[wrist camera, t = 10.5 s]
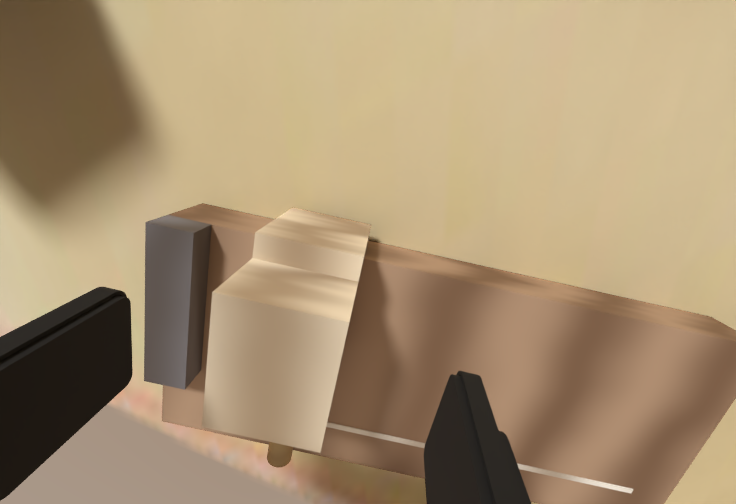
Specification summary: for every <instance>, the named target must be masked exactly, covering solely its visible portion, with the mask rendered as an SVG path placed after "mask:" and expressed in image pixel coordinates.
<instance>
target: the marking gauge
mask: <svg viewBox="0 0 736 504" xmlns="http://www.w3.org/2000/svg"><path fill="white" fill-rule="evenodd" d="M370 228H371V225H370V224H366V223H361V222H357V221H352V220H348V219H343V218H339V217H334V216H330V215H326V214H321V213H317V212H312V211H308V210H303V209H299V208H294V207H292V208H291V209H289V210H288V211H286V212H285V213H283V214H282V215H280V216H279V217H277V218H276V219H274V220H273V221H271V222H270V223H268V224H267V225H265V226H264V227H263V228H261V229H260V230H258V231H257V232H255V239H254V248H253V256H252V259H251V260H250V261H248V262H247V263H246V264H245V265H244V266H242V267H241V268H240V269H239V270H238V271H237V272H235V273H234V274H233V275H232V276H231V277H229V278H228V279H227V280H226V281H225V282H224V283H222V284H221V285H220V286H219V287H218V288H217V289H215V290H214V291H213V292H212V302H211V315H210V328H209V341H208V354H207V367H206V380H205V393H204V406H203V419H202V427H204V428H209V429H213V430H218V431H222V432H227V433H231V434H236V435H241V436H245V437H250V438H254V439H259V440H264V441H268V442H269V448H268V454H267V460H268V462H269V464H270V465H272V466H274V467H283V466H285V465H287V464H288V463H289V462H290V460H291V456H292V451H293V447H296V448H300V449H305V450H309V451H314V452H319V453H320V452H321V448H322V443H323V439H324V434H325V430H326V425H327V421H328V416H329V412H330V407H331V403H332V398H333V394H334V390H335V385H336V381H337V376H338V372H339V367H340V363H341V358H342V354H343V349H344V345H345V340H346V336H347V331H348V327H349V322H350V318H351V313H352V309H353V304H354V300H355V295H356V291H357V286H358V282H359V277H360V273H361V268H362V264H363V259H364V255H365V251H366V246H367V242H368V237H369V233H370Z"/></svg>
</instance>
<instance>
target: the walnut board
mask: <svg viewBox="0 0 736 504" xmlns="http://www.w3.org/2000/svg"><path fill="white" fill-rule="evenodd" d="M273 220H274V219H270V218H265V217H261V216H256V215H252V214H247V213H243V212H239V211H234V210H230V209H225V208H221V207H216V206H212V205H207V204H203V203H202V204H199V205H196V206H193V207H190V208H187V209H184V210H181V211H178V212H175V213H172V214H169V215H166V216H163V217H160V218H157V219H154V220H151V221H148V222H146V242H145V354H144V381H147V382H152V383H156V384H161V385H163V402H162V421H163V422H168V423H173V424H177V425H182V426H186V427H191V428H196V429H200V430H205V431H209V432H214V433H218V434H223V435H228V436H232V437H237V438H241V439H246V440H251V441H255V442H260V443H264V444H269V442H268V441H264V440H259V439H254V438H250V437H245V436H241V435H236V434H231V433H227V432H222V431H218V430H213V429H209V428H204V427H202V419H203V406H204V393H205V380H206V367H207V354H208V341H209V328H210V315H211V302H212V292H213V291H214V290H215V289H217V288H218V287H219V286H220V285H221V284H222V283H224V282H225V281H226V280H227V279H228V278H229V277H231V276H232V275H233V274H234V273H235V272H237V271H238V270H239V269H240V268H241V267H242V266H244V265H245V264H246V263H247V262H248V261H250V260H251V259H252V256H253V248H254V239H255V232H257V231H258V230H260V229H261V228H263V227H264V226H265V225H267V224H268V223H270V222H271V221H273ZM458 371H464V372H468V373H472V374H477V375H479V376H480V377H481V379H482V382H483V385H484V388H485V391H486V394H487V397H488V400H489V403H490V406H491V409H492V412H493V415H494V418H495V421H496V424H497V427H498V430H499V431H502V432H504V433H505V434H506V435H507V438H508V440H509V442H510V445H511V448H512V451H513V453H514V456H515V459H516V462H517V465H518V468H519V470H520V473H521V476H522V479H523V482H524V485H525V487H526V490H527V493H528V496H529V499H530V502H535V503H539V504H664V503H665V501H666V500H667V498H668V497H669V495H670V494H671V492H672V491H673V490H674V488H675V487H676V485H677V484H678V482H679V481H680V479H681V478H682V476H683V475H684V473H685V472H686V470H687V469H688V468H689V466H690V465H691V463H692V462H693V460H694V459H695V457H696V456H697V454H698V453H699V451H700V450H701V448H702V447H703V446H704V444H705V443H706V441H707V440H708V438H709V437H710V435H711V434H712V432H713V431H714V429H715V428H716V426H717V425H718V423H719V422H720V421H721V419H722V418H723V416H724V415H725V413H726V412H727V410H728V409H729V407H730V406H731V404H732V403H733V401H734V400H735V399H736V330H734V329H732V328H730V327H728V326H726V325H725V324H723V323H721V322H719V321H717V320H716V319H714V318H712V317H709V316H704V315H700V314H695V313H691V312H686V311H682V310H677V309H673V308H668V307H664V306H659V305H655V304H650V303H646V302H641V301H637V300H632V299H628V298H623V297H619V296H615V295H610V294H606V293H601V292H597V291H592V290H588V289H583V288H579V287H574V286H570V285H565V284H561V283H556V282H552V281H547V280H543V279H538V278H534V277H529V276H525V275H521V274H516V273H512V272H507V271H503V270H498V269H494V268H489V267H485V266H480V265H476V264H471V263H467V262H462V261H458V260H453V259H449V258H444V257H440V256H435V255H431V254H427V253H422V252H418V251H413V250H409V249H404V248H400V247H395V246H391V245H386V244H382V243H377V242H373V241H368V242H367V246H366V251H365V255H364V259H363V264H362V268H361V273H360V277H359V282H358V286H357V291H356V295H355V300H354V304H353V309H352V313H351V318H350V322H349V327H348V331H347V336H346V340H345V345H344V349H343V354H342V358H341V363H340V367H339V372H338V376H337V381H336V385H335V390H334V394H333V398H332V403H331V407H330V412H329V416H328V421H327V425H326V430H325V434H324V439H323V443H322V448H321V452H320V453H319V452H314V451H309V450H305V449H300V448H296V447H293V450H296V451H301V452H306V453H310V454H315V455H319V456H324V457H328V458H333V459H338V460H342V461H347V462H351V463H356V464H360V465H365V466H370V467H374V468H379V469H383V470H388V471H393V472H397V473H402V474H406V475H411V476H415V477H420V478H425V470H424V447H425V443H426V440H427V437H428V435H429V432H430V429H431V426H432V423H433V421H434V418H435V415H436V412H437V410H438V407H439V404H440V401H441V398H442V396H443V393H444V390H445V387H446V385H447V382H448V379H449V377H450V375H451V374H453V375H456V374H457V372H458Z"/></svg>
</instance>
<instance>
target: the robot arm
mask: <svg viewBox="0 0 736 504" xmlns="http://www.w3.org/2000/svg"><path fill="white" fill-rule="evenodd" d="M131 377H132V341H131V306H130V300H129V299H128V298H127V297H126V294H125V293H124V292H122V291H119V290H115V289H111V288H106V287H98V288H96V289H94V290H92V291H90V292H88V293H86V294H84V295H82V296H80V297H78V298H76V299H74V300H72V301H70V302H68V303H66V304H64V305H62V306H60V307H58V308H56V309H54V310H53V311H51V312H49V313H47V314H45V315H43V316H41V317H39V318H37V319H35V320H33V321H31V322H29V323H27V324H25V325H23V326H21V327H19V328H17V329H15V330H13V331H11V332H9V333H7V334H5V335H3V336H1V337H0V500H2V499H4V498H5V497H6V496H8V495H9V494H10V493H11V492H12V491H13V490H14V489H15V488H16V487H18V486H19V485H20V484H21V483H22V482H23V481H24V480H25V479H26V478H27V477H28V476H29V475H30V474H32V473H33V472H34V471H35V470H36V469H37V468H38V467H39V466H40V465H41V464H43V463H44V462H45V461H46V460H47V459H48V458H49V457H50V456H51V455H52V454H53V453H54V452H56V451H57V449H59V448H60V447H61V446H62V445H63V444H64V443H65V442H66V441H67V440H69V439H70V438H71V437H72V436H73V435H74V434H75V433H76V432H77V431H78V430H79V429H80V428H82V427H83V426H84V425H85V424H86V423H87V422H88V421H89V420H90V419H91V418H92V417H93V416H94V415H95V414H96V413H98V412H99V411H100V410H101V409H102V408H103V407H104V406H105V405H106V404H108V403H109V402H110V401H111V400H112V399H113V398H114V397H115V396H116V395H117V394H118V393H119V392H121V391H122V390H123V389H124V388H125V387H126V386H127V385H128V383H129V382H130V380H131ZM424 470H425V484H426V498H427V504H531V502H530V499H529V496H528V493H527V490H526V487H525V485H524V482H523V479H522V476H521V473H520V470H519V468H518V465H517V462H516V459H515V456H514V453H513V451H512V448H511V445H510V442H509V440H508V438H507V435H506V434H505V433H504V432H502V431H499V430H498V427H497V424H496V421H495V418H494V415H493V412H492V409H491V406H490V403H489V400H488V397H487V394H486V391H485V388H484V385H483V382H482V379H481V377H480V376H479V375H477V374H472V373H468V372H464V371H458V372H457V374H456V375H453V374H451V375H450V377H449V379H448V382H447V385H446V387H445V390H444V393H443V396H442V398H441V401H440V404H439V407H438V410H437V412H436V415H435V418H434V421H433V423H432V426H431V429H430V432H429V435H428V437H427V440H426V443H425V447H424Z"/></svg>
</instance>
